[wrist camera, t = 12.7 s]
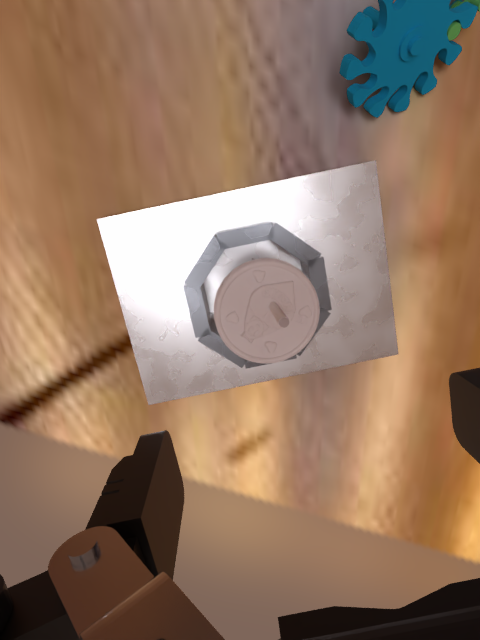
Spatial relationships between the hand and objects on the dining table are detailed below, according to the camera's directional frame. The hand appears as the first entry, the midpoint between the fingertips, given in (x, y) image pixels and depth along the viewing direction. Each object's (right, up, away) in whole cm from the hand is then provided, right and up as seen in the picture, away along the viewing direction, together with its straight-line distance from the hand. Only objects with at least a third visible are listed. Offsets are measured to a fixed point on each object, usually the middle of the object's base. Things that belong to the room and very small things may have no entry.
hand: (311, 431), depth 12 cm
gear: (+10, +23, +20) cm, 32 cm away
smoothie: (-1, +6, +23) cm, 23 cm away
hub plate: (-1, +6, +24) cm, 25 cm away
